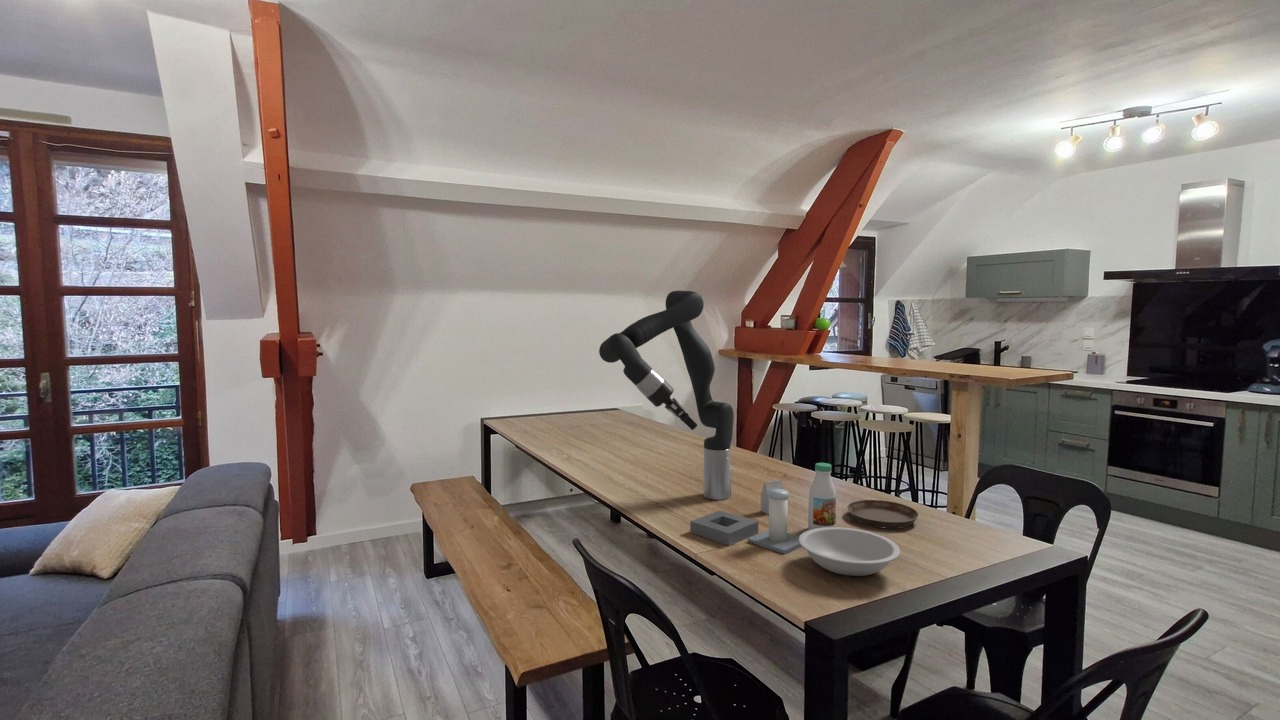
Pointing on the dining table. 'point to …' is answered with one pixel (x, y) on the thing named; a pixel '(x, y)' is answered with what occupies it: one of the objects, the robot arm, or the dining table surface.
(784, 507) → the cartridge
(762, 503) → the white paper packet
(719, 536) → the housing
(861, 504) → the plant saucer
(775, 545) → the mat
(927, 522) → the dining table surface
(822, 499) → the milk bottle
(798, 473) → the dining table surface
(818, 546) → the soup bowl
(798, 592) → the dining table surface
